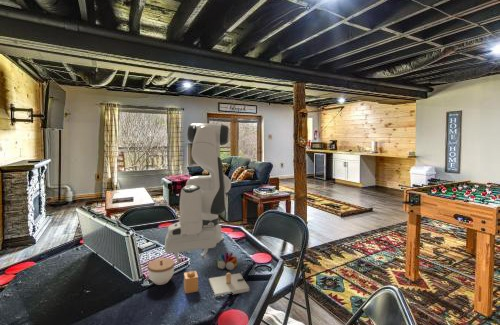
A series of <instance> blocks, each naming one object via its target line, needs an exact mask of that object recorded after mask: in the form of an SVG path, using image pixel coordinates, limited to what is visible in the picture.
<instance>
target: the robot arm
mask: <svg viewBox="0 0 500 325" xmlns="http://www.w3.org/2000/svg"><path fill="white" fill-rule="evenodd" d="M186 138H187V140H188V142H190V143H191V144H192V145H191V146H192V147H191V158H192V160H193V162H195V164H197V165H198V166H200V168H201V169H203V170H204V171H205V172H207V173H209V175H194V176H190V177H189V178H188V179H187V181H186V183H185V186H183V187H182V188H181V190H180V196H179V212H180V215H179V216H180V217H179V221H177V222H175V223H173V224H170V225H168V227H167V233H166V235H165V239H164V252H165V253H166V254H174V257H175V258H176V263H177V264H178V263H179V264H180V263H182V256H179V253H182V252H190V251H198V250H203V252H202V253H200V259H201V260H205V259H206V254H207V253H208V251H209V249H213V248H216V247H217V245H218V244H219V243H221V241H222V240H225V237H224V236H223V235H222V225H220V216H219V215H222V214H223V213H224V212H225V211H226V210H227V208H228V198H227V193H229V191H230V189H231V188H232V181H231V180H230V178H229V177H228V176H227V175H226V174H225V173H224V167H223V162H222V159H221V146H225V145H227V144H228V143H229V140H230V138H231V132H230V128H229V127H228V126H227V125H225V124H217V123H212V122H211V123H197V122H194V123H190V124H189V125H188V127H187V129H186Z"/></svg>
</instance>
